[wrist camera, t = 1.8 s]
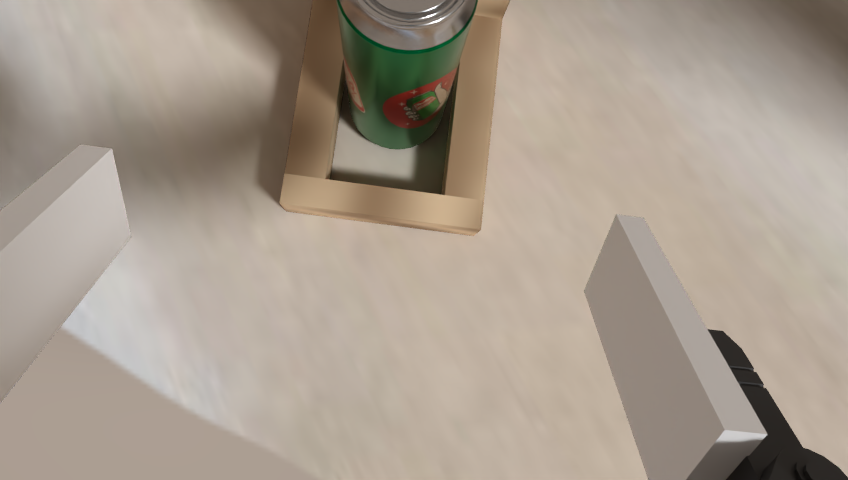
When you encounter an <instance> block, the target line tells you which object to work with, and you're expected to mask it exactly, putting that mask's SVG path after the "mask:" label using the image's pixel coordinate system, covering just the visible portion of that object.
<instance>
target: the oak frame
mask: <svg viewBox="0 0 848 480" xmlns="http://www.w3.org/2000/svg"><path fill="white" fill-rule="evenodd" d="M509 2H510V0H478V3H477V7H476V11H475V14H474V17H473V21H472V24H471V27H470V30H469V33H468V36H467V40H466V43H465V46H464V49H463V52H462V55H461V58H460V62H459V65H458V68H457V71H456V74H455V79H454V87H453V96H452V105H451V114H450V122H449V131H448V140H447V148H446V157H445V166H444V175H443V183H442V192H441V195H440V194H433V193H425V192H418V191H410V190H403V189H396V188H388V187H381V186H374V185H366V184H359V183H351V182H344V181H337V180H330V176H331V169H332V163H333V156H334V149H335V143H336V136H337V129H338V123H339V116H340V109H341V103H342V96H343V89H344V83H345V76H346V75H345V67H344V59H343V51H342V43H341V35H340V27H339V19H338V11H337V3H336V0H313V2H312V8H311V14H310V20H309V26H308V32H307V38H306V44H305V50H304V57H303V63H302V69H301V75H300V81H299V87H298V93H297V99H296V105H295V111H294V117H293V123H292V129H291V136H290V142H289V148H288V154H287V160H286V166H285V172H284V178H283V184H282V190H281V196H280V202H279V203H280V204H281V206H282V207H283V208H284V209H285V210H286V211H288V212H295V213H303V214H310V215H318V216H326V217H333V218H341V219H349V220H356V221H364V222H372V223H379V224H387V225H395V226H402V227H410V228H418V229H425V230H433V231H440V232H448V233H456V234H463V235H471V236H474V235H475V234H476V233H478V232H479V231H480V230H481V224H482V214H483V204H484V194H485V185H486V175H487V165H488V155H489V145H490V135H491V125H492V115H493V106H494V96H495V86H496V76H497V66H498V56H499V46H500V36H501V27H502V19H503V16H504V14H505V11H506V9H507V7H508V4H509Z"/></svg>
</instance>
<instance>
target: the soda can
mask: <svg viewBox="0 0 848 480" xmlns="http://www.w3.org/2000/svg"><path fill="white" fill-rule="evenodd" d="M336 3H337V11H338V19H339V27H340V35H341V43H342V51H343V59H344V67H345V75H346V83H347V91H348V98H349V106H350V112H351V116H352V119H353V121H354V124H355V125H356V127H357V128H358V130H359V131H360V132H361V133H362V134H363V135H364V136H365V137H366V138H367V139H368V140H370V141H371V142H373V143H375V144H377V145H379V146H381V147H385V148H389V149H406V148H411V147H414V146H416V145H419V144H420V143H422V142H424V141H425V140H427V139H428V138H429V137H430V136H431V135H432V134H433V133H434V132H435V130H436V129H437V127H438V126H439V123H440V121H441V118H442V115H443V112H444V109H445V106H446V103H447V99H448V96H449V93H450V90H451V87H452V84H453V81H454V77H455V74H456V71H457V68H458V65H459V62H460V58H461V55H462V52H463V49H464V46H465V43H466V40H467V36H468V33H469V30H470V27H471V24H472V21H473V17H474V14H475V11H476V7H477V3H478V0H336Z"/></svg>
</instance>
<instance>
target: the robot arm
mask: <svg viewBox="0 0 848 480" xmlns="http://www.w3.org/2000/svg"><path fill="white" fill-rule="evenodd" d="M130 238H131V233H130V228H129V223H128V219H127V214H126V210H125V205H124V201H123V196H122V191H121V187H120V182H119V178H118V173H117V169H116V164H115V159H114V155H113V150H112V148H105V147H98V146H90V145H82V144H80V145H79V146H78V147H77V148H75V149H74V150H73V151H72V152H71V153H69V154H68V155H67V156H66V157H65V158H63V159H62V160H61V161H60V162H58V163H57V164H56V165H55V166H54V167H52V168H51V169H50V170H49V171H48V172H46V173H45V174H44V175H43V176H42V177H40V178H39V179H38V180H37V181H36V182H34V183H33V184H32V185H31V186H30V187H28V188H27V189H26V190H25V191H23V192H22V193H21V194H20V195H19V196H17V197H16V198H15V199H14V200H13V201H11V202H10V203H9V204H8V205H7V206H5V207H4V208H3V209H2V210H1V211H0V403H1V402H2V401H3V400H4V398H5V397H6V396H7V394H8V393H9V392H10V390H11V389H12V388H13V387H14V386H15V384H16V383H17V382H18V380H19V379H20V378H21V377H22V375H23V374H24V373H25V372H26V370H27V369H28V368H29V366H30V365H31V364H32V363H33V361H34V360H35V359H36V358H37V356H38V355H39V354H40V352H41V351H42V350H43V349H44V347H45V346H46V345H47V344H48V342H49V341H50V340H51V338H52V337H53V336H54V335H55V333H56V332H57V331H58V330H59V328H60V327H61V326H62V324H63V323H64V322H65V321H66V319H67V318H68V317H69V316H70V314H71V313H72V312H73V310H74V309H75V308H76V307H77V305H78V304H79V303H80V302H81V300H82V299H83V298H84V296H85V295H86V294H87V293H88V291H89V290H90V289H91V288H92V286H93V285H94V284H95V282H96V281H97V280H98V279H99V277H100V276H101V275H102V274H103V272H104V271H105V270H106V268H107V267H108V266H109V265H110V263H111V262H112V261H113V260H114V258H115V257H116V256H117V254H118V253H119V252H120V251H121V249H122V248H123V247H124V246H125V244H126V243H127V242H128V240H129V239H130ZM584 293H585V295H586V298H587V301H588V304H589V307H590V310H591V313H592V316H593V319H594V322H595V325H596V328H597V331H598V333H599V336H600V339H601V342H602V345H603V348H604V351H605V354H606V357H607V360H608V363H609V366H610V369H611V371H612V374H613V377H614V380H615V383H616V386H617V389H618V392H619V395H620V398H621V401H622V404H623V407H624V409H625V412H626V415H627V418H628V421H629V424H630V427H631V430H632V433H633V436H634V439H635V442H636V445H637V447H638V450H639V453H640V456H641V459H642V462H643V465H644V468H645V471H646V474H647V477H648V480H848V477H847V476H846V475H845V474H844V473H843V472H842V471H841V470H840V468H839V467H837V466H836V465H834V464H833V463H832V462H830V461H829V460H828V459H826V458H825V457H824V456H822V455H819V454H817V453H815V452H813V451H811V450H809V449H805V448H803V447H802V445H801V444H800V442H799V441H798V439H797V437H796V436H795V434H794V432H793V431H792V429H791V428H790V426H789V424H788V423H787V421H786V420H785V418H784V416H783V415H782V413H781V411H780V410H779V408H778V407H777V405H776V403H775V402H774V400H773V399H772V397H771V395H770V394H769V392H768V390H767V389H766V388H763V385H764V384H763V382H762V381H761V379H760V378H759V376H758V374H757V373H756V372H754V371H753V369H754V368H753V366H752V365H751V363H750V361H749V360H748V358H747V357H746V355H745V353H744V352H743V350H742V349H741V348H740V347H739V346H738V345H737V344H736V343H735V342H734V341H733V340H732V339H731V338H730V337H728V336H727V335H726V334H725V333H724V332H723V331H718V330H709V329H707V328H706V326H705V324H704V322H703V321H702V319H701V317H700V315H699V314H698V312H697V310H696V308H695V307H694V305H693V303H692V301H691V300H690V298H689V296H688V294H687V293H686V291H685V289H684V287H683V286H682V284H681V282H680V280H679V279H678V277H677V275H676V273H675V272H674V270H673V268H672V266H671V265H670V263H669V261H668V260H667V258H666V256H665V254H664V253H663V251H662V249H661V247H660V246H659V244H658V242H657V240H656V239H655V237H654V235H653V233H652V232H651V230H650V228H649V226H648V225H647V223H646V221H645V219H644V218H641V217H633V216H626V215H618V214H616V216H615V218H614V221H613V223H612V225H611V228H610V230H609V233H608V235H607V237H606V240H605V242H604V244H603V247H602V249H601V252H600V254H599V256H598V259H597V261H596V263H595V266H594V268H593V271H592V273H591V275H590V278H589V280H588V282H587V285H586V287H585V290H584Z"/></svg>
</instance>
